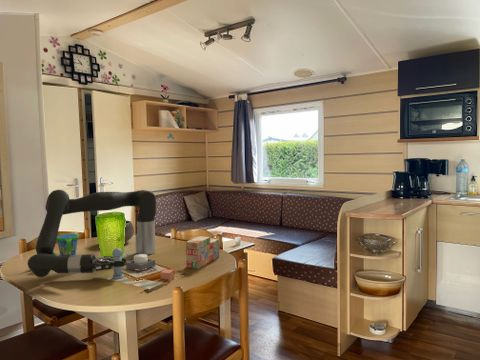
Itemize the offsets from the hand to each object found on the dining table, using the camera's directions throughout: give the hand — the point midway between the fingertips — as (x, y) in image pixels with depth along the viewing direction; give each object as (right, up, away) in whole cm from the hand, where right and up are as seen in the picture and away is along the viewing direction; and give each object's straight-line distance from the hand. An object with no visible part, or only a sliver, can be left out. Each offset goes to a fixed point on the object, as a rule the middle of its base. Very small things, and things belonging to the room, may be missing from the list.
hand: (124, 262), depth 156 cm
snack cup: (-42, -5, +40) cm, 58 cm away
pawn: (-3, -6, 0) cm, 7 cm away
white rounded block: (+3, -5, +14) cm, 15 cm away
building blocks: (-41, -7, +19) cm, 46 cm away
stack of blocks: (+30, -6, +26) cm, 41 cm away
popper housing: (+3, -7, +14) cm, 16 cm away
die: (+18, -8, 0) cm, 19 cm away
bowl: (-24, -3, +66) cm, 70 cm away
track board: (+5, -8, -4) cm, 10 cm away
